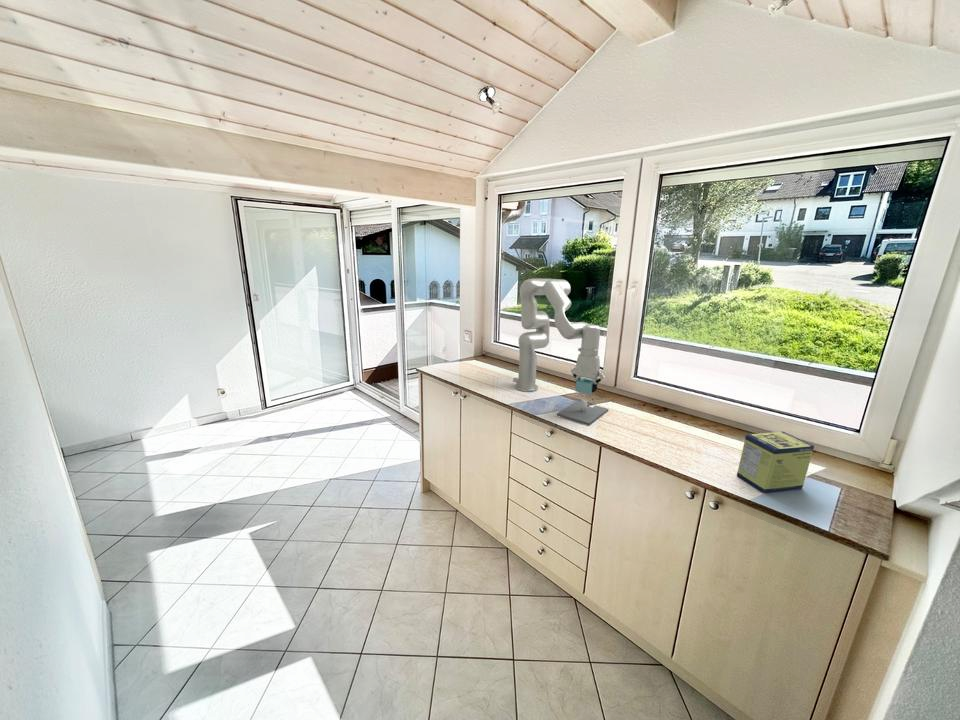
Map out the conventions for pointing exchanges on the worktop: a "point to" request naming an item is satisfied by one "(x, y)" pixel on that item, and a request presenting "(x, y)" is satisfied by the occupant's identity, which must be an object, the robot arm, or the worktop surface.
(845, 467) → the worktop surface
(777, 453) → the protein box
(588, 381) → the spool collar
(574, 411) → the board
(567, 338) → the robot arm
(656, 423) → the worktop surface
